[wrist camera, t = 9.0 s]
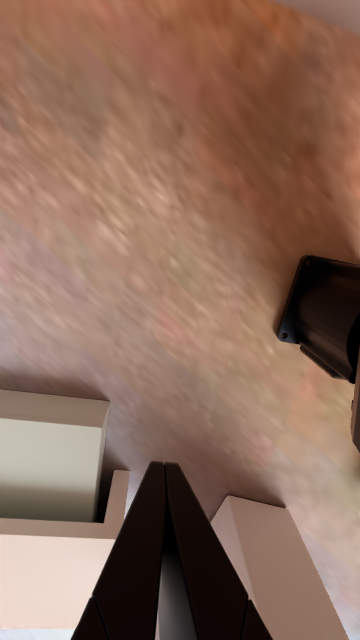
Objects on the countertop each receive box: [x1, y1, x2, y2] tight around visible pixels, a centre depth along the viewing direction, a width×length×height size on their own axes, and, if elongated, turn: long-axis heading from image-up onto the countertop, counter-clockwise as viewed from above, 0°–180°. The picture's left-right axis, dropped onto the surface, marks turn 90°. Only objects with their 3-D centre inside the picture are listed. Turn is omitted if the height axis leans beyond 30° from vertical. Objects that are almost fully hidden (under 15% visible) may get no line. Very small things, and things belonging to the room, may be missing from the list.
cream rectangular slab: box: [0, 389, 110, 523], centre depth 21 cm, size 16×10×3 cm, turn 169°
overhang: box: [0, 470, 130, 629], centre depth 21 cm, size 11×16×6 cm
